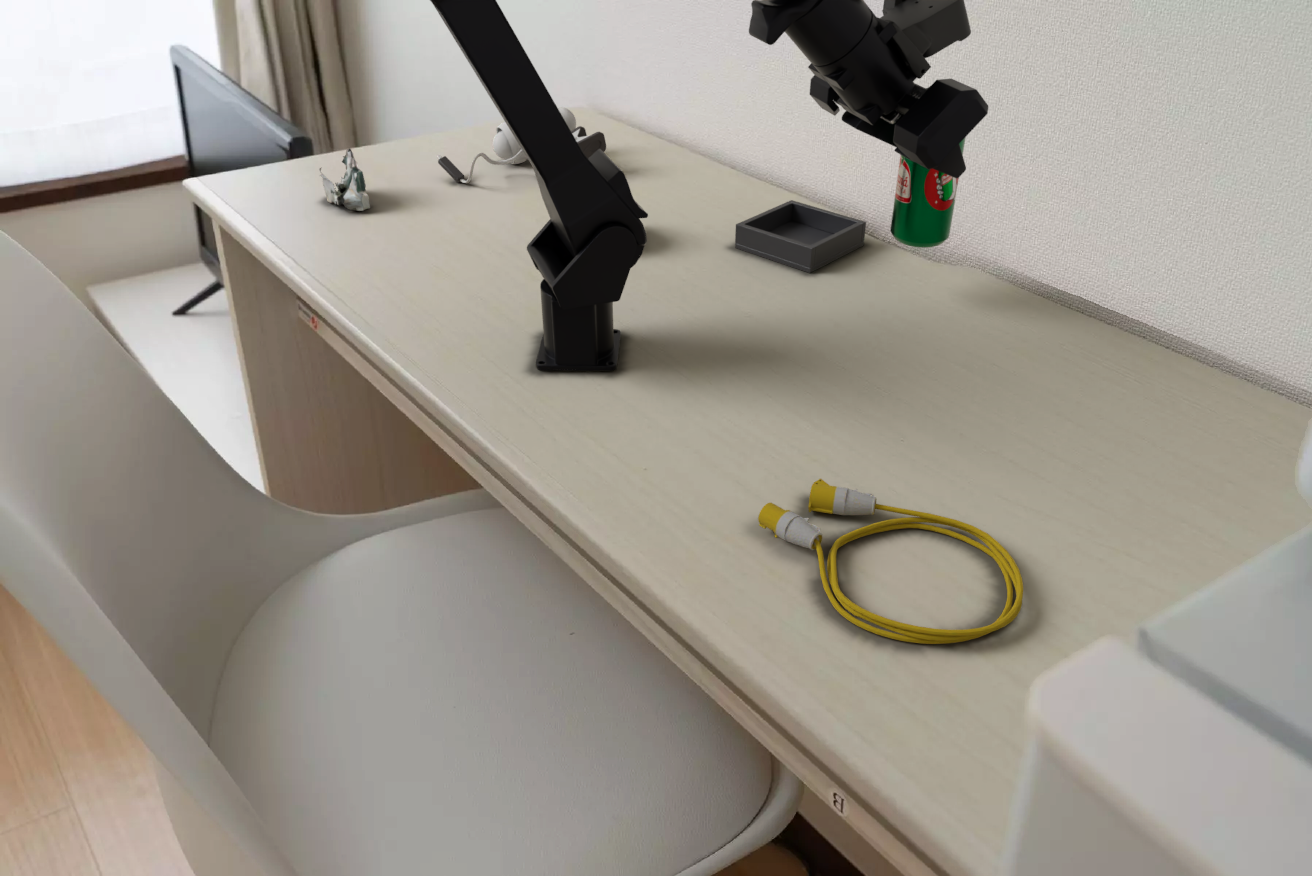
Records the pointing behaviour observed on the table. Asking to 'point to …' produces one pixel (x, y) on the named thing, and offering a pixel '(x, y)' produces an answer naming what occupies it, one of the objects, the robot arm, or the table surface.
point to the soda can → (923, 204)
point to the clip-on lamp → (513, 152)
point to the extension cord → (864, 504)
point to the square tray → (800, 235)
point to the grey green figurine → (348, 186)
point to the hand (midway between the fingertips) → (943, 163)
